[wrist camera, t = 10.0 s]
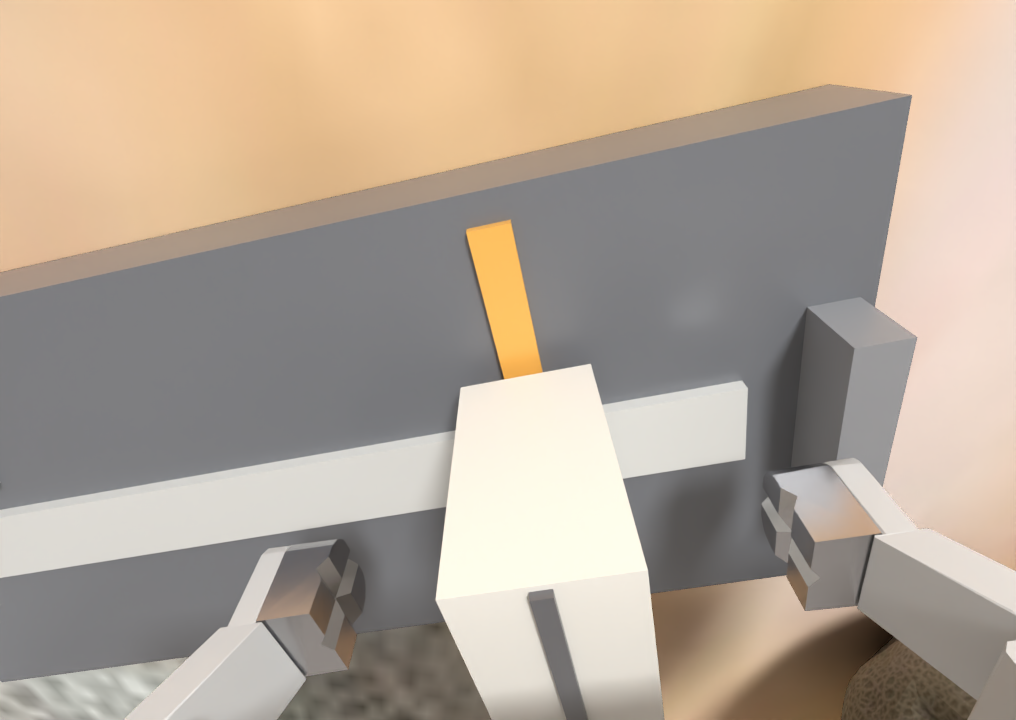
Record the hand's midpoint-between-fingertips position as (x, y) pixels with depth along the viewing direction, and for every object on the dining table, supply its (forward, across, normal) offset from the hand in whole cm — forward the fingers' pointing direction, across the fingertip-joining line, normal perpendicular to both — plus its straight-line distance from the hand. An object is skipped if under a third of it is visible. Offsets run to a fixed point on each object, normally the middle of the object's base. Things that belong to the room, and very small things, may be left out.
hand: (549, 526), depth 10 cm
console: (+5, +6, 0) cm, 8 cm away
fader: (+2, 0, 0) cm, 2 cm away
